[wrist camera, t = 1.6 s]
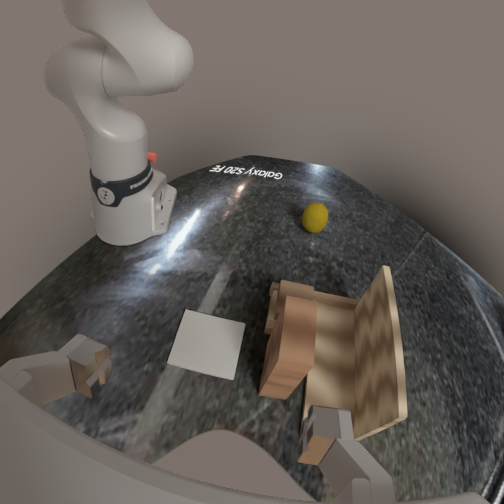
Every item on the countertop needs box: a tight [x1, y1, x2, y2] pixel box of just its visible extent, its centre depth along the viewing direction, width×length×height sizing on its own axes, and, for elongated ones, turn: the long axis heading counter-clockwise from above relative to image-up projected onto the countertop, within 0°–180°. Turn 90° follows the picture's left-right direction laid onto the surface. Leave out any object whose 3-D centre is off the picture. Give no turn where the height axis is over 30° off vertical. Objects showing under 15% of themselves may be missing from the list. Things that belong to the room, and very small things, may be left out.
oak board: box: [259, 295, 317, 400], centre depth 39 cm, size 9×4×13 cm, turn 171°
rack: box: [269, 265, 407, 441], centre depth 41 cm, size 25×17×13 cm
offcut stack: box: [264, 280, 314, 335], centre depth 49 cm, size 7×6×6 cm
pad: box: [167, 309, 245, 380], centre depth 45 cm, size 10×10×1 cm
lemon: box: [302, 203, 328, 233], centre depth 65 cm, size 6×6×8 cm
